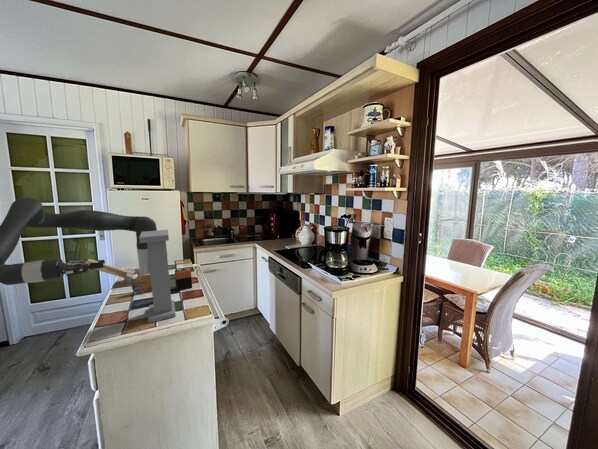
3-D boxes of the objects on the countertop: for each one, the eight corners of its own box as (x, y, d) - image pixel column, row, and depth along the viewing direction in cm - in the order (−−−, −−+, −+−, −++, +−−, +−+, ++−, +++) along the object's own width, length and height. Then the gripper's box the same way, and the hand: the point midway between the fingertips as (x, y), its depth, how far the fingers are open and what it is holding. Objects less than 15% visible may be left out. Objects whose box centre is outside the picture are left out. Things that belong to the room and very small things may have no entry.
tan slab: (88, 261, 100) (91, 256, 100) (132, 275, 108) (135, 269, 108) (81, 269, 91) (84, 263, 91) (129, 283, 99) (132, 277, 99)
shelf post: (149, 308, 103) (141, 231, 97) (174, 303, 107) (167, 229, 102) (148, 323, 92) (139, 237, 87) (175, 316, 96) (168, 235, 91)
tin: (132, 295, 115) (130, 278, 113) (132, 293, 117) (130, 276, 116) (169, 288, 123) (167, 271, 121) (168, 286, 125) (167, 269, 124)
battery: (175, 287, 123) (174, 268, 121) (190, 284, 127) (189, 265, 125) (177, 291, 119) (175, 270, 118) (192, 287, 123) (190, 268, 121)
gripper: (52, 274, 97) (108, 267, 105) (37, 287, 85) (101, 278, 93) (49, 255, 96) (106, 250, 104) (33, 266, 84) (98, 259, 92)
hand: (103, 263), depth 98 cm, fingers closed on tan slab, 2 cm apart
